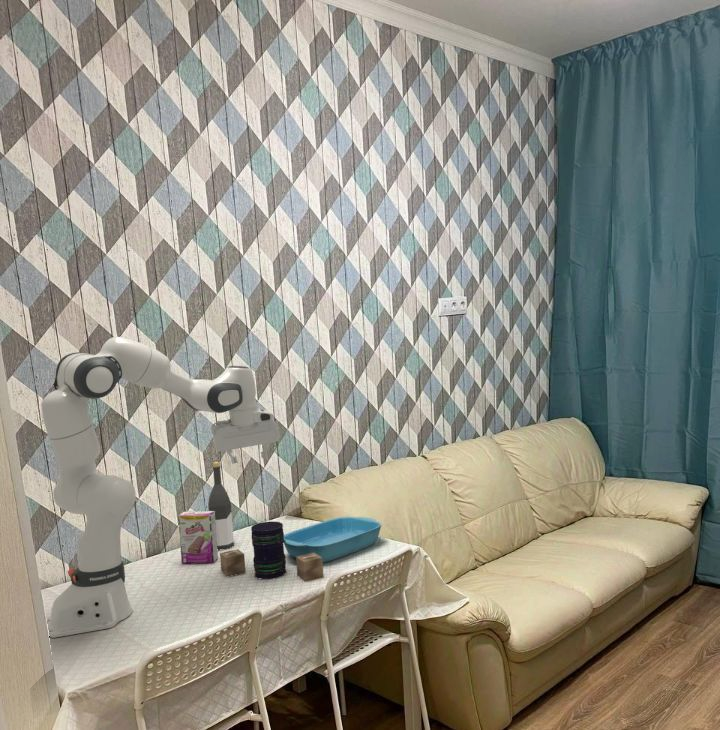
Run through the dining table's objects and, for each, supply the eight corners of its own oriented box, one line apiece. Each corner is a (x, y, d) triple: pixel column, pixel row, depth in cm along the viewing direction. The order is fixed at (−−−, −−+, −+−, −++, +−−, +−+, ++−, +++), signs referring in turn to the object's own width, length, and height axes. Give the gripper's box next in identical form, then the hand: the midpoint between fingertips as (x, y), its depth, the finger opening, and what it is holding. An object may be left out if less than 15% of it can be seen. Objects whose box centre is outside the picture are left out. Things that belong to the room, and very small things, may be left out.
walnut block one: (305, 581, 207) (303, 561, 207) (297, 576, 213) (295, 556, 212) (323, 577, 210) (322, 557, 210) (315, 571, 215) (313, 551, 215)
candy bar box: (181, 564, 230) (177, 515, 229) (186, 559, 235) (182, 511, 234) (214, 563, 229) (210, 514, 228) (218, 558, 234) (215, 510, 233)
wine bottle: (214, 543, 251) (207, 460, 249) (236, 542, 251) (230, 459, 249) (208, 550, 243) (201, 465, 241) (231, 549, 243) (224, 464, 241)
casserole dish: (348, 530, 257) (347, 511, 257) (394, 540, 242) (393, 520, 241) (270, 559, 231) (268, 538, 230) (316, 572, 215) (314, 549, 215)
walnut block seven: (226, 577, 216) (225, 557, 215) (221, 571, 221) (219, 552, 221) (245, 572, 219) (244, 553, 218) (239, 567, 224) (238, 548, 224)
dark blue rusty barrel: (251, 580, 211) (247, 531, 211) (257, 569, 221) (253, 522, 220) (284, 578, 211) (280, 529, 210) (288, 567, 221) (285, 520, 220)
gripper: (212, 424, 210) (217, 468, 212) (278, 413, 217) (283, 456, 219) (209, 420, 216) (214, 463, 218) (273, 410, 223) (278, 452, 225)
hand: (249, 460), depth 219 cm, fingers open, 8 cm apart
